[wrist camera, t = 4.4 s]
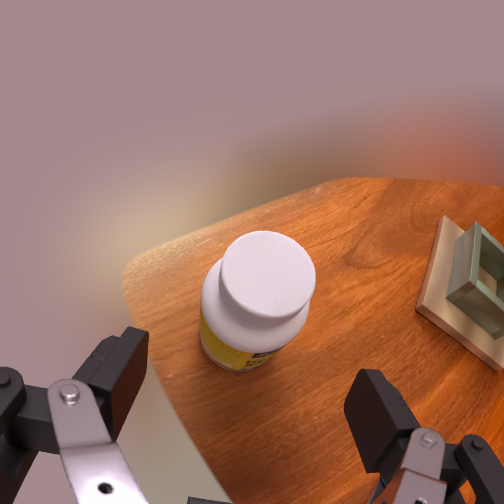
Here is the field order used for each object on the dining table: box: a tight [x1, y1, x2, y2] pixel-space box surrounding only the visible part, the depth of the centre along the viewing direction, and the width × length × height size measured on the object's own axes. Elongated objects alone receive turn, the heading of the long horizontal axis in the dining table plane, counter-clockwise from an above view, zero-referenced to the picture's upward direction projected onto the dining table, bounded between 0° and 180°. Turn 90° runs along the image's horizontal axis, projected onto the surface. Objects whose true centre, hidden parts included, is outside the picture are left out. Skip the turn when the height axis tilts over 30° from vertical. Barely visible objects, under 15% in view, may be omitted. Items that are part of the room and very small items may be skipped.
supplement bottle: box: [199, 231, 316, 371], centre depth 17 cm, size 5×5×10 cm
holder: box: [415, 215, 504, 371], centre depth 24 cm, size 13×13×5 cm
